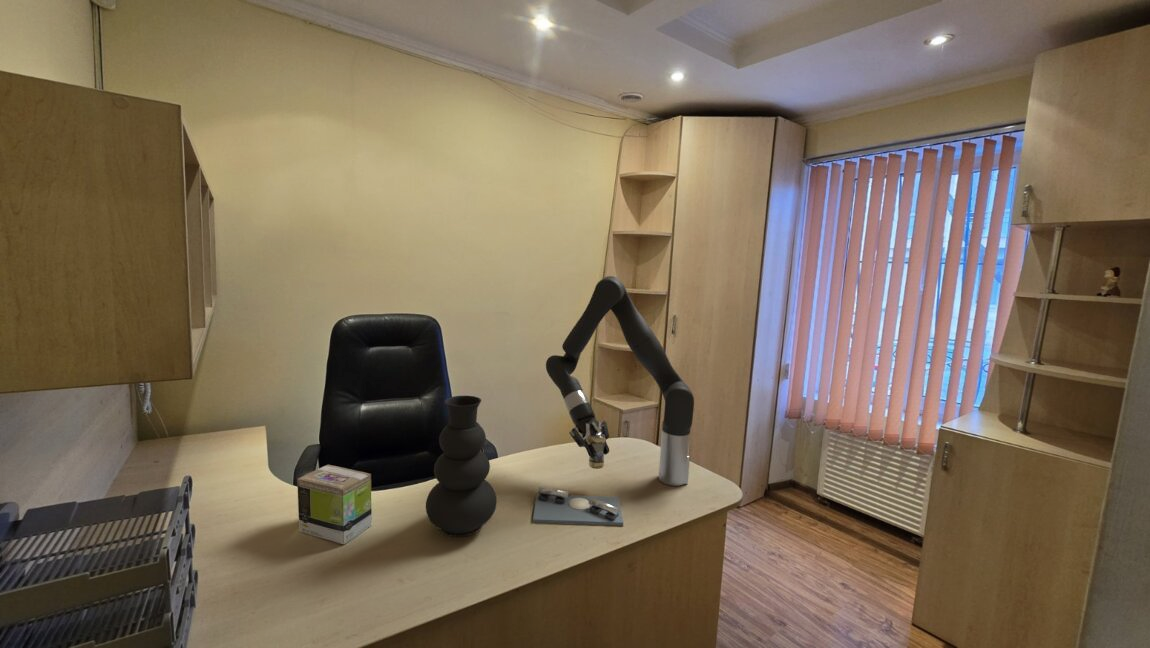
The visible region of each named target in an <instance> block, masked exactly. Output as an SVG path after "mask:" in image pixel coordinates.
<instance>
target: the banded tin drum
mask: <svg viewBox="0 0 1150 648" xmlns="http://www.w3.org/2000/svg"><path fill="white" fill-rule="evenodd" d="M590 442H591V444H590V445H592V446H593V449H594V451H595V453H596V456H595V457H594V458H591V457H590V456H589V455H588V456H589V459H588V466H589V468H592V469H596V470H597V469H602V468H604V465H605V455H604V442H605V435H604V434H602V433H591V434H590Z"/></svg>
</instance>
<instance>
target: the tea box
mask: <svg viewBox="0 0 1150 648" xmlns="http://www.w3.org/2000/svg"><path fill="white" fill-rule="evenodd" d="M296 482H297V507H298V529H299V532H300V533H303V534H306V535H307V534H308V535H310V536H313V537H317V538H320V539H323V540H328V541H331V542H334V543H337V544H340V545H345V544H347V543H348V542H350V541H352V540H353V539H355V538H357V536H359V535H360V534H362V533H363V532H365V531H366V530H367V529H369V528H370V527H372V519H373V518H372V516H373V515H372V514H373V513H372V512H373V511H372V473H368V472H365V471H361V470H360V471H359V470H356V469H355V470H354V469H350V468H346V467H341V466H338V465H337V466H336V465H331V464H326V465H324V466H322V467H319V468H318V469H315V470H313V471H311V472H309V473H306V474H305V475H302V476H301V477H298V478H297V481H296ZM368 527H369V528H368Z"/></svg>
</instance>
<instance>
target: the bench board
mask: <svg viewBox="0 0 1150 648" xmlns="http://www.w3.org/2000/svg"><path fill="white" fill-rule="evenodd" d="M539 495H540V494H538V493H536V497H535V504H534V511H533V518H532V523H533V524H557V525H559V524H560V525H562V524H563V525H586V526H587V525H588V526H591V525H592V526H615V527H617V526H618V527H623V526H624V519H623V513H622V509H621V503H620V500H619V496H600V495H597V496H596V495H572V494H569V495H568V498H567V499H565V501H564V503H563V504H557V503H555V498H556V497H555V496H549V498H548V499H547V501H540V500H538V497H539ZM590 498H594V499H596V500H599V501H601V502H604V503H607V504H609V505H612V506H615V507H617V508H619V516H618V517H616V518H615V519H614V520H613V521H611V520H608V519H606V518H605V514H606V513H607V511H604V510H602V511H601V512H600V513H598V514H597V515H596V514H593V513H591V512H590V508H591V507H592V506H591V505H589V499H590Z"/></svg>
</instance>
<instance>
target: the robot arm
mask: <svg viewBox="0 0 1150 648" xmlns="http://www.w3.org/2000/svg"><path fill="white" fill-rule="evenodd" d="M609 311H611V312H612V313H613V315H614V316H615V318H616V319H617V322H618V324H619V326H620V330H621V332H622V335H623V336H624V339H625V341H626V343H627V345H628V346H629V349H630V350H631V351H632V353H633V355H634V356H635V358H636V359H637V360H638V362H639V363H640V365H641V366H642V367H644V369H645V370H646V371H647V372H648V373H649V374H650V375H651V376H652V378H653V379H654V381H655V383H656V385H657V386H658V388H659V390H660V392H661V394H662V396H663V399H664V411H663V412H664V413H663V420H662V425H661V429H662V430H661V438H660V439H661V441H660V453H659V467H658V480H659V481H660V482H661V483H663V484H665V485H669V486H675V487H679V486H683V485H688V483H689V474H690V472H689V471H690V460H691V457H690V455H689V450H690V440H691V439H690V438H691V428H692V425H693V419H694V410H695V409H694V407H695V397H694V395H693V392H692V390H691V389H690V387H689V386H688V385H687V384H686V383H685V381H684V380H683V379H682V378H681V376H680V375H679V374H678V373H677V371H676V370H675V368H674V367H673V366H672V364H671V362H670V360H669V358H668V356H667V354H666V352H665V350H664V347H663V346H662V344H661V342H660V340H659V338H658V337H657V336H656V334H655V333H654V331H653V329H651V327H650V325H649V324H648V323H647V321H646V320H645V318H644V317H643V316H642V315H641V313H640V312H639V311H638V309H637V308H636V306H635V304H634V302H633V301H632V299H631V296H630V294H629V293H628V290H627V289H626V286H625V285H624V283H623V282H622V280H621V279H619V278H618V277H616V276H612V275H609V276H605V277H603V278H602V279H601V280H599V281H598V282H597V283H596V285H595V288H594V291H592V295H591V296H590V300H589V302H588V304H587V306H586V308H585V310H584V311H583V313H582V315H581V316H580V318H579V319H578V320H577V322H576V323H575V325H574V326H573V327H572V328H571V330H570V331H569V333H568V335H567V336H566V338H565V339H564V340H563V343H562V345H561V346H562V347H561V348H562V350H563V351H564V352H565V353H564V355H557V354H555V355H550V356H549V357H548V358H547V360H546V361H545V370H546V373H547V374H548V377H549V378H550V379H551V381H552V382H553V384H555V386H556V387H557V389H558V390H559V391H560V394H561V396H562V399H563V400H564V404H565V408H566V410H567V412H568V414H569V417H570V419H571V420H572V423H573V425H574V427H572V429H571V430H570V431H569V435H570V436H571V438H572V439H573V440H574V442H575V443H576V445H577V446H578V447H579V448H582V447H583V448H584V449H585V450H586V452H587V454H588V456H590V457H591V458H594V457H595V456H596V453H595V451H594V449H593V446H592V445H590V444H591V442H590V434H591V433H602V434H604V435H605V442H604V456H605V455H608V454H609V453H610V447H609V445H608V443H607V440H608V439H609V438H610V434H609V433H610V432H609V428H608V423H607V421H605V420H603V421H599V420H597V418H596V413H595V411H594V410H593V407H592V406H591V404H590V403H591V402H590V401H589V399H588V397H587V395H586V394H585V392H584V390H583V388H582V386H581V383H580V381H579V380H578V378H577V377H575V376H572V374H573V373H574V372H575V370H576V369H577V366H578V363H579V360H580V356H581V354H582V352H583V351H584V349H586V347H587V346H588V343H589V342H590V340H591V339H592V338H593V335H594V333H595V331H596V330H597V327H598V326H599V324H600V322H601V321H602V320H603V319H604V317H605V316H606V315H607V314H608V313H609Z"/></svg>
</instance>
